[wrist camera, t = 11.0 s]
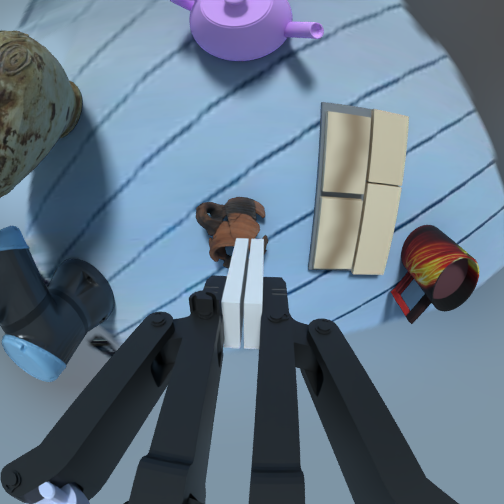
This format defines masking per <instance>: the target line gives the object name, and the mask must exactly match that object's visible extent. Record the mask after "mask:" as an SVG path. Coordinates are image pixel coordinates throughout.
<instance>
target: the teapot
mask: <svg viewBox="0 0 504 504" xmlns="http://www.w3.org/2000/svg"><path fill="white" fill-rule="evenodd" d="M170 1H171V2H173V3H175V4H177V5H179V6H181V7H183V8H185V9H187V10H189V11H191V12H190V28H191V32H192V35H193V37H194V39H195V40H196V42H197V43H198V44H199V45H200V47H201V48H202V49H204V50H205V51H206V52H208V53H209V54H211V55H213V56H215V57H218V58H221V59H225V60H231V61H248V60H254V59H258V58H261V57H264V56H266V55H268V54H270V53H272V52H273V51H275V50H276V49H277V48H279V47H280V46H281V45H282V44H283V43H284V41H285V40H286V39H287V37H296V38H313V39H319V38H321V37H322V36H323V34H324V29H323V27H322V25H321V24H320V23H315V22H292V11H291V7H290V5H289V3H288V1H287V0H170Z"/></svg>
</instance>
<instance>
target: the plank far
mask: <svg viewBox="0 0 504 504" xmlns="http://www.w3.org/2000/svg"><path fill="white" fill-rule="evenodd" d="M362 204H363V201H362V200H361V199H356V198H342V197H327V196H320V204H319V214H318V223H317V232H316V241H315V249H314V257H313V268H314V269H351V267H352V262H353V257H354V252H355V247H356V241H357V236H358V230H359V224H360V217H361V211H362Z"/></svg>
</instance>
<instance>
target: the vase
mask: <svg viewBox="0 0 504 504" xmlns="http://www.w3.org/2000/svg"><path fill="white" fill-rule="evenodd" d="M81 110H82V97H81V93H80V90H79V89H78V87H77V86H76V85H75V84H74V83H73V82H71V81H69V80H68V77H67V75H66V73H65V71H64V69H63V68H62V66H61V64H60V63H59V62H58V60H57V59H56V58H55V57H54V56H53V55H52V54H51V53H50V52H49V51H48V50H47V49H46V47H44V46H42V45H41V44H40V43H38V42H37V41H36V40H34V39H32V38H31V37H29V35H28V34H25V33H22V32H20V31H0V198H1V197H2V196H4V195H6V194H8V193H9V192H10V191H11V190H13V189H14V187H15V186H16V185H17V184H18V183H20V182H21V180H23V179H24V178H25V177H26V176H27V175H28V174H29V173H30V172H31V171H32V170H34V169H35V168H36V166H37V165H38V164H39V163H40V162H41V161H42V160H43V159H44V157H45V156H46V155H47V154H48V153H49V152H50V150H51V149H52V148H53V146H54V145H55V143H56V142H57V141H58V139H59V138H63V137H64V136H66V135H68V134H69V133H70V132H71V131H72V130H73V129H74V127H75V125H76V124H77V122H78V120H79V117H80V114H81Z"/></svg>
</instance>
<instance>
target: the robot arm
mask: <svg viewBox="0 0 504 504" xmlns="http://www.w3.org/2000/svg"><path fill="white" fill-rule="evenodd" d="M248 245H249V239H246V238H236V242H235V246H234V250H233V254H232V258H231V263H230V267H229V271H228V275H227V276H211V277H210V278H209V279H207V280H206V283H205V286H204V289H203V291H198V292H195V293H193V294H192V295H191V296H190V297H189V305H190V312H191V314H190V316H188V317H185V318H180V319H173V317H172V316H171V315H170V314H168V313H166V312H155V313H152V314H150V315H149V316H147V317H146V318H145V319H144V320H143V322H142V323H141V324H140V325H139V326H138V327H137V328H136V329H135V331H134V332H133V333H132V334H131V335H130V336H129V337H128V339H127V340H126V341H125V342H124V343H123V344H122V345H121V347H120V348H119V349H118V350H117V351H116V352H115V353H114V355H113V356H112V357H111V358H110V359H109V360H108V362H107V363H106V364H105V365H104V366H103V367H102V369H101V370H100V371H99V372H98V373H97V375H96V376H95V377H94V378H93V379H92V380H91V382H90V383H89V384H88V385H87V386H86V388H85V389H84V390H83V391H82V393H81V394H80V395H79V396H78V397H77V399H76V400H75V401H74V402H73V404H72V405H71V406H70V407H69V408H68V410H67V411H66V412H65V413H64V415H63V416H62V417H61V418H60V420H59V421H58V422H57V423H56V425H55V426H54V427H53V429H52V430H51V431H50V432H49V434H48V435H47V436H46V438H45V439H44V440H43V442H42V443H41V444H40V445H39V446H37V447H36V448H34V449H32V450H31V451H29V452H27V453H26V454H24V455H22V456H21V457H19V458H17V459H16V460H14V461H12V462H11V463H9V464H7V465H6V466H5V467H4V468H3V469H2V472H1V483H2V486H3V488H4V489H5V491H6V492H7V493H8V494H10V495H11V496H13V497H14V498H16V499H18V500H20V501H22V502H24V503H25V504H90V503H89V500H90V499H91V498H93V497H94V496H95V495H96V494H97V493H98V492H99V491H100V490H101V488H102V487H103V485H104V484H105V483H106V481H107V480H108V478H109V477H110V475H111V474H112V472H113V470H114V469H115V467H116V466H117V464H118V463H119V461H120V459H121V458H122V456H123V455H124V453H125V451H126V450H127V448H128V447H129V445H130V444H131V442H132V440H133V439H134V437H135V436H136V434H137V433H138V431H139V430H140V428H141V426H142V425H143V423H144V421H145V420H146V418H147V417H148V415H149V414H150V412H151V411H152V409H153V407H154V406H155V404H156V403H157V401H158V400H159V398H160V396H161V395H162V393H163V392H164V390H165V389H166V387H167V385H168V387H167V390H166V394H165V397H164V401H163V404H162V407H161V411H160V414H159V418H158V421H157V425H156V429H155V432H154V436H153V440H152V443H151V447H150V450H149V453H148V454H147V455H146V456H144V457H142V459H141V460H140V462H139V465H138V468H137V471H136V476H135V479H134V483H133V487H132V491H131V495H130V499H129V501H127V502H125V503H124V504H205V498H206V489H205V482H206V473H207V466H208V459H209V451H210V444H211V437H212V429H213V422H214V415H215V408H216V401H217V395H218V388H219V381H220V374H221V367H222V361H223V344H224V347H226V348H240V346H241V337H242V327H243V318H244V349H259V361H258V379H257V395H256V410H255V412H256V413H255V427H254V440H253V441H254V442H253V455H252V468H251V481H250V494H249V504H305V485H304V484H305V483H304V475H303V472H302V470H301V466H300V442H299V420H298V400H297V384H296V369H295V367H297V368H300V369H301V373H302V376H303V378H304V380H305V383H306V385H307V388H308V390H309V392H310V395H311V398H312V400H313V402H314V405H315V407H316V410H317V412H318V415H319V417H320V420H321V422H322V424H323V427H324V429H325V432H326V434H327V436H328V439H329V441H330V444H331V446H332V449H333V451H334V454H335V456H336V458H337V461H338V463H339V466H340V468H341V471H342V473H343V476H344V478H345V481H346V483H347V485H348V488H349V490H350V493H351V495H352V498H353V500H354V502H355V504H458V503H457V502H456V501H455V500H453V499H452V498H451V497H450V496H448V495H447V494H446V493H444V492H443V491H442V490H441V489H439V488H438V487H437V486H436V485H435V484H433V483H432V482H431V481H430V480H428V479H427V478H426V476H425V474H424V472H423V471H422V469H421V467H420V465H419V463H418V462H417V460H416V458H415V456H414V454H413V452H412V450H411V449H410V447H409V445H408V443H407V441H406V440H405V438H404V436H403V434H402V433H401V431H400V429H399V427H398V426H397V424H396V422H395V420H394V419H393V417H392V415H391V413H390V412H389V410H388V408H387V406H386V405H385V403H384V401H383V400H382V398H381V396H380V395H379V393H378V391H377V390H376V388H375V386H374V384H373V383H372V381H371V379H370V378H369V376H368V374H367V373H366V371H365V369H364V368H363V366H362V365H361V363H360V361H359V360H358V358H357V356H356V355H355V353H354V351H353V350H352V348H351V347H350V345H349V343H348V342H347V340H346V339H345V337H344V335H343V334H342V332H341V331H340V329H339V327H338V326H337V325H336V324H335V323H334V322H332V321H330V320H327V319H316V320H313V321H312V322H311V323H310V324H309V325H307V324H303V323H300V322H297V321H296V320H294V319H293V318H292V317H291V315H290V314H289V308H288V298H287V288H286V282H285V281H284V280H283V279H282V278H280V277H263V256H264V239H251V247H250V256H249V264H248ZM113 307H114V297H113V293H112V290H111V288H110V286H109V284H108V282H107V281H106V279H105V278H104V277H103V275H102V274H101V273H100V272H99V271H98V270H97V269H96V268H95V267H93V266H92V265H91V264H89V263H87V262H85V261H83V260H80V259H68V260H66V261H64V262H63V263H62V264H61V265H60V266H59V267H58V268H57V269H56V271H55V273H54V275H53V278H52V280H51V282H50V284H49V286H48V288H47V287H46V285H45V283H44V281H43V279H42V277H41V275H40V273H39V271H38V268H37V266H36V264H35V262H34V260H33V257H32V255H31V253H30V250H29V246H28V245H27V244H26V242H25V240H24V238H23V235H22V233H21V231H20V230H19V228H17V227H16V226H9V227H6V228H3V229H1V230H0V326H1V327H2V329H3V331H4V332H5V335H4V336H3V339H2V346H3V347H4V350H5V352H6V353H7V355H8V356H9V357H10V358H11V359H12V360H13V361H14V362H15V363H16V364H17V365H18V366H19V367H20V368H22V369H23V370H24V371H25V372H27V373H28V374H30V375H31V376H33V377H35V378H37V379H39V380H42V381H46V382H51V381H54V380H56V379H57V378H58V377H59V375H60V374H61V373H62V371H63V370H64V369H65V368H66V365H67V363H68V362H69V360H70V358H71V357H72V355H73V353H74V352H75V351H76V349H77V347H78V346H79V344H80V343H81V341H82V340H83V338H84V337H85V335H86V333H87V332H88V331H90V330H91V329H93V328H94V327H96V326H98V325H99V324H101V323H102V322H104V321H105V320H106V319H107V318H108V316H109V315H110V313H111V312H112V310H113Z"/></svg>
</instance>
